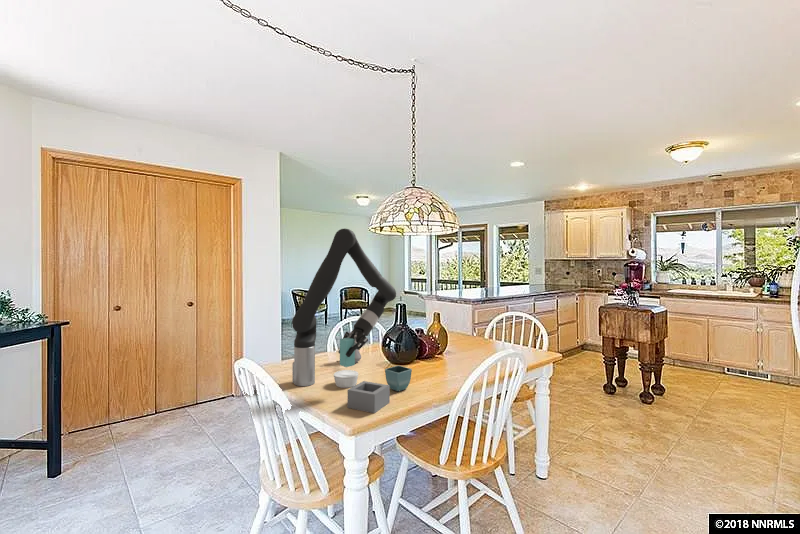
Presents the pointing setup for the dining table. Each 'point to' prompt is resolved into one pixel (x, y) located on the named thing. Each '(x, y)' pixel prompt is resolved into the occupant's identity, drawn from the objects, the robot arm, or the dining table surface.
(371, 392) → the box
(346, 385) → the ramekin
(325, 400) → the dining table surface
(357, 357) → the coffee pot
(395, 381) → the flower pot
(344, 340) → the teal post
